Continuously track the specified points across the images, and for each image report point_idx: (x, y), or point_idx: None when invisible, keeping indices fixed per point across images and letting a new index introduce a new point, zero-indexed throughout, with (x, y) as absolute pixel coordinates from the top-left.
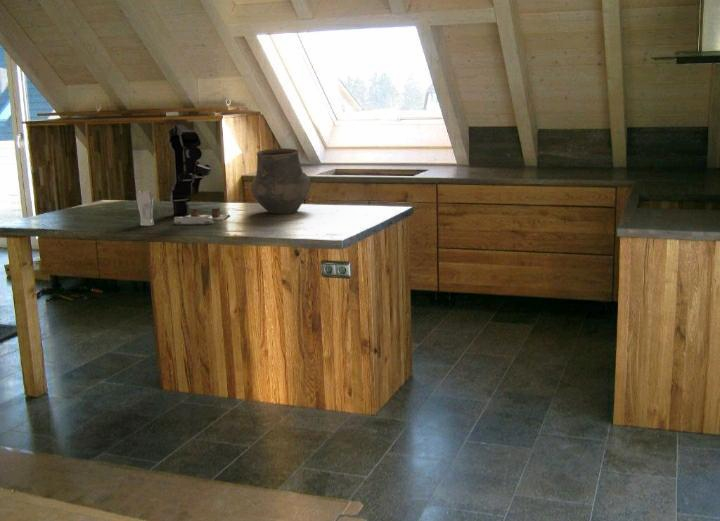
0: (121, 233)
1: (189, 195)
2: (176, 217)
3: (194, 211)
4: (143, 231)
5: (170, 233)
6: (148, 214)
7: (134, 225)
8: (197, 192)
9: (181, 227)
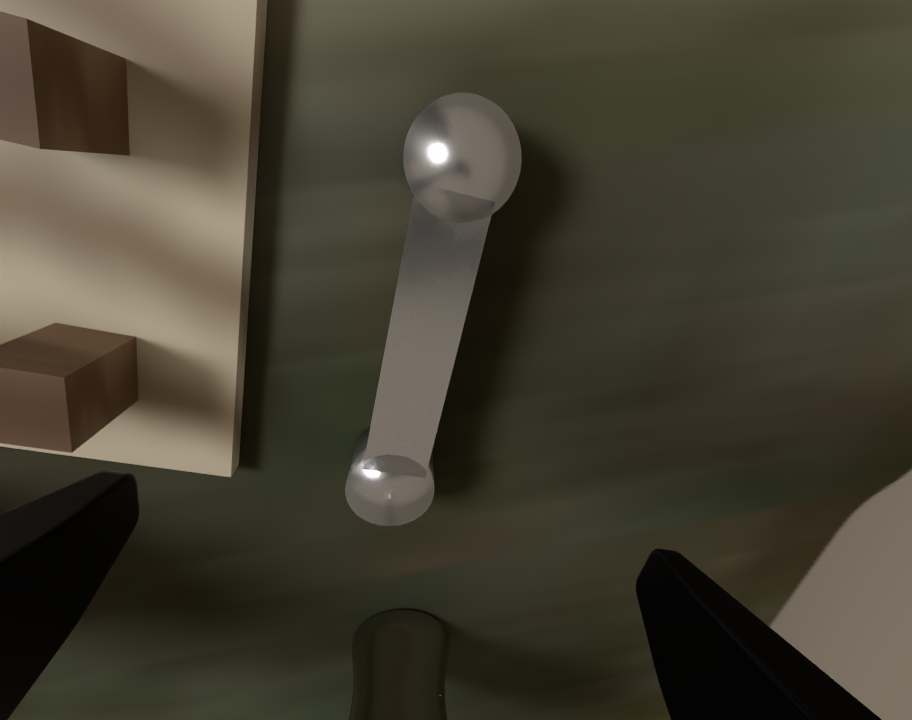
0: None
1: (662, 574)
2: (402, 507)
3: (92, 392)
4: None
5: (846, 437)
6: (442, 714)
7: None
8: (121, 495)
9: (602, 404)
